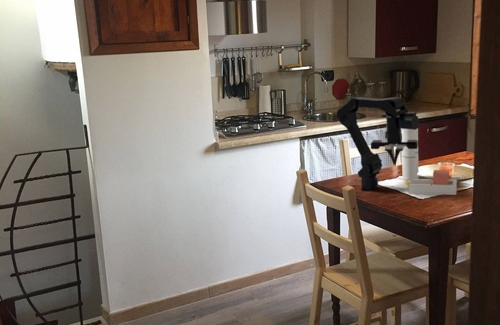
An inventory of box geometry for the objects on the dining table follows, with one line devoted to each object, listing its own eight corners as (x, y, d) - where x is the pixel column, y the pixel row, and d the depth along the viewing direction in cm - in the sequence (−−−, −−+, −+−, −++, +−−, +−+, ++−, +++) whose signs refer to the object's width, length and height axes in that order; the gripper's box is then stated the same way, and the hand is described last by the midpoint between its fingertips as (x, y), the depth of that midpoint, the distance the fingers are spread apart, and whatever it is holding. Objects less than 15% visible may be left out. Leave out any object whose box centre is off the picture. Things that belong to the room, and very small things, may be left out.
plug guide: (408, 193, 221) (408, 184, 220) (410, 187, 229) (410, 178, 228) (456, 194, 214) (456, 185, 213) (456, 188, 222) (456, 179, 221)
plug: (433, 192, 219) (433, 173, 217) (434, 187, 224) (433, 169, 222) (448, 192, 216) (448, 174, 214) (448, 188, 222) (448, 170, 220)
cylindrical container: (421, 177, 242) (421, 124, 236) (411, 181, 238) (410, 127, 232) (409, 175, 247) (408, 123, 242) (399, 178, 244) (398, 126, 238)
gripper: (418, 123, 220) (419, 159, 223) (374, 124, 227) (375, 159, 230) (416, 129, 210) (417, 166, 213) (369, 129, 217) (371, 166, 220)
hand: (394, 164), depth 220 cm, fingers closed
